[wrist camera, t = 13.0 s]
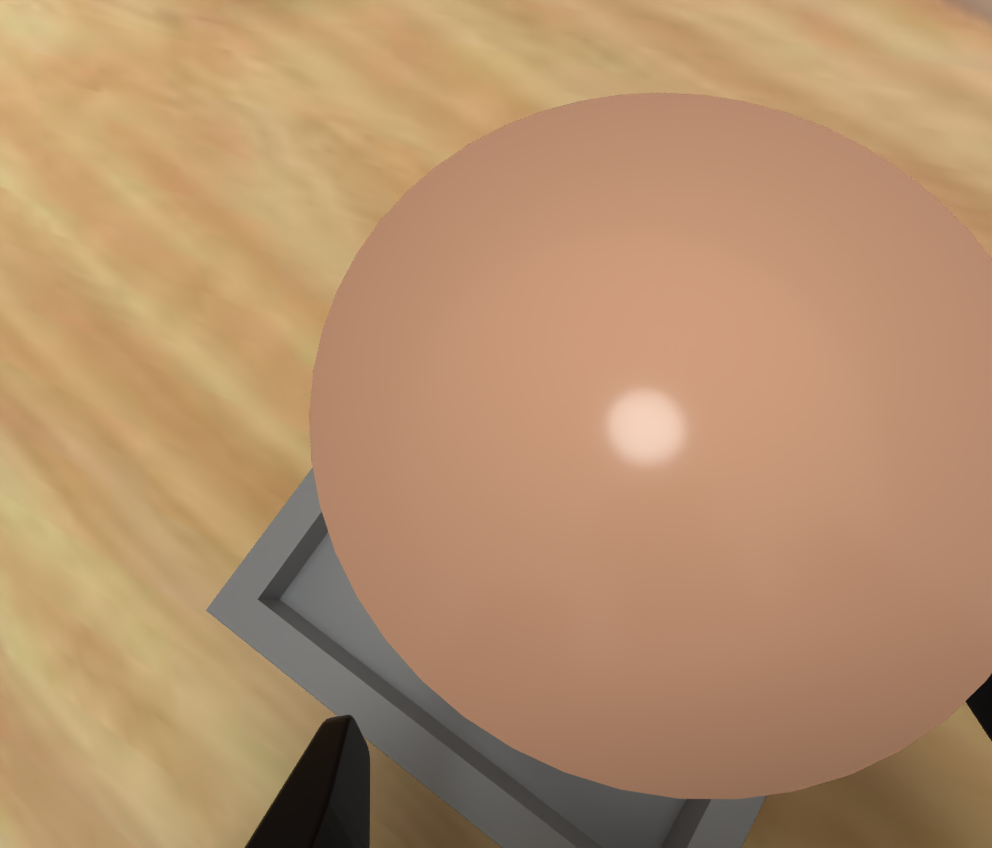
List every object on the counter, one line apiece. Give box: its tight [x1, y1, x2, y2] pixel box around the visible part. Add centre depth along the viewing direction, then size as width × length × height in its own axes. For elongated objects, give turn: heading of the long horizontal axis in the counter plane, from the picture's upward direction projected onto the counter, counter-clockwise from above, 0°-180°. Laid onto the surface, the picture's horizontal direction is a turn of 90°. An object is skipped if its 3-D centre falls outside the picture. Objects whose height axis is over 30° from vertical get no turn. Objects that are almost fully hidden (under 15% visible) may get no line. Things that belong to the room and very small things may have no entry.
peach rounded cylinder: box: [309, 93, 992, 799], centre depth 11 cm, size 6×6×13 cm
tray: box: [206, 468, 767, 848], centre depth 17 cm, size 14×14×2 cm
